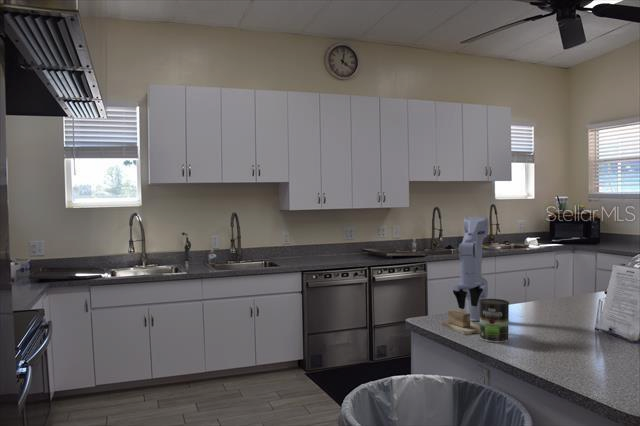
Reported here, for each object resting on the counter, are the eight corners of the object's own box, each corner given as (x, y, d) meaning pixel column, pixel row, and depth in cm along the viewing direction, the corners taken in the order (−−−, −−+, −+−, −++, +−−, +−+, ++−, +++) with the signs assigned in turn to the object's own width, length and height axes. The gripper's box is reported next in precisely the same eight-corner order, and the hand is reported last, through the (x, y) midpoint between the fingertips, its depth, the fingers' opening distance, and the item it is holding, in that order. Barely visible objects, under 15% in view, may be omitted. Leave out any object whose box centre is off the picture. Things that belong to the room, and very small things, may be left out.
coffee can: (506, 344, 180) (506, 304, 180) (477, 340, 185) (477, 302, 185) (510, 337, 189) (510, 299, 189) (482, 334, 194) (482, 297, 194)
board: (467, 322, 213) (467, 319, 213) (490, 332, 197) (491, 328, 197) (442, 324, 209) (442, 321, 209) (463, 334, 194) (463, 331, 194)
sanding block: (455, 322, 208) (455, 310, 208) (470, 326, 202) (470, 313, 201) (448, 323, 206) (448, 311, 206) (462, 327, 200) (462, 315, 199)
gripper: (471, 270, 207) (471, 303, 207) (447, 273, 199) (447, 307, 199) (486, 272, 201) (486, 306, 202) (462, 275, 193) (462, 311, 193)
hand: (467, 307), depth 200 cm, fingers open, 7 cm apart
